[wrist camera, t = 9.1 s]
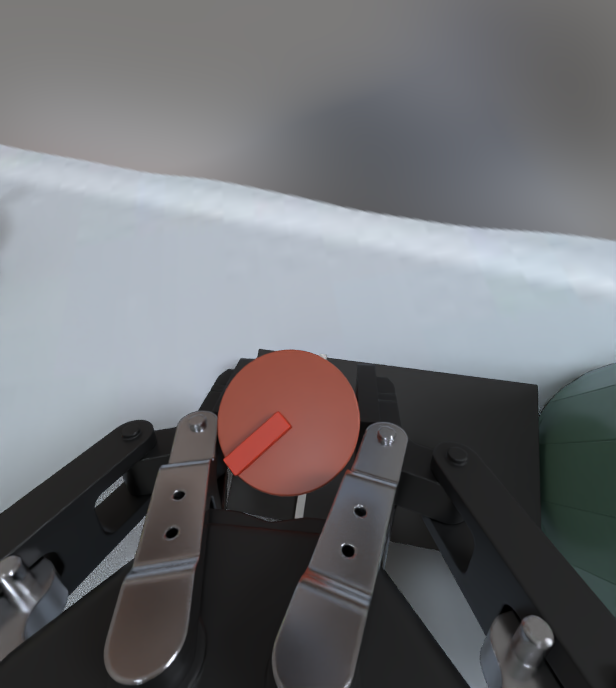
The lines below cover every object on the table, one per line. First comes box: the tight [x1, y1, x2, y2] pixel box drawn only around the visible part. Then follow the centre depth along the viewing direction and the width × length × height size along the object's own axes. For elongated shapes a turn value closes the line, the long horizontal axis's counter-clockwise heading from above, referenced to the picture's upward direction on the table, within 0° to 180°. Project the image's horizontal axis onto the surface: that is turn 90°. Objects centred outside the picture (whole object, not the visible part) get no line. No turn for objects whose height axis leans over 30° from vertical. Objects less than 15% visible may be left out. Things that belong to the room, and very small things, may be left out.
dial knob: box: [217, 350, 360, 497], centre depth 13 cm, size 4×4×8 cm
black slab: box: [226, 349, 541, 551], centre depth 18 cm, size 15×8×2 cm, turn 81°
